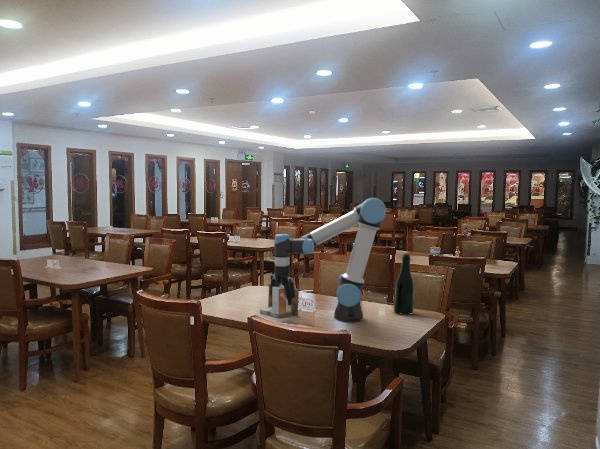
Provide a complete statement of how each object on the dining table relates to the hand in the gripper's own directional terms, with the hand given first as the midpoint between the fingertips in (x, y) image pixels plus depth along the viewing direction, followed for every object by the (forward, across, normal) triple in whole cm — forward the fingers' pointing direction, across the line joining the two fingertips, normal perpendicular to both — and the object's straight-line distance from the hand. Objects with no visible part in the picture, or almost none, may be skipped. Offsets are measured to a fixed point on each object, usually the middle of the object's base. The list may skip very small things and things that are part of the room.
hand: (282, 309), depth 238 cm
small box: (+1, 0, 0) cm, 1 cm away
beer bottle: (+8, -37, -60) cm, 71 cm away
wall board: (+5, +11, -8) cm, 15 cm away
